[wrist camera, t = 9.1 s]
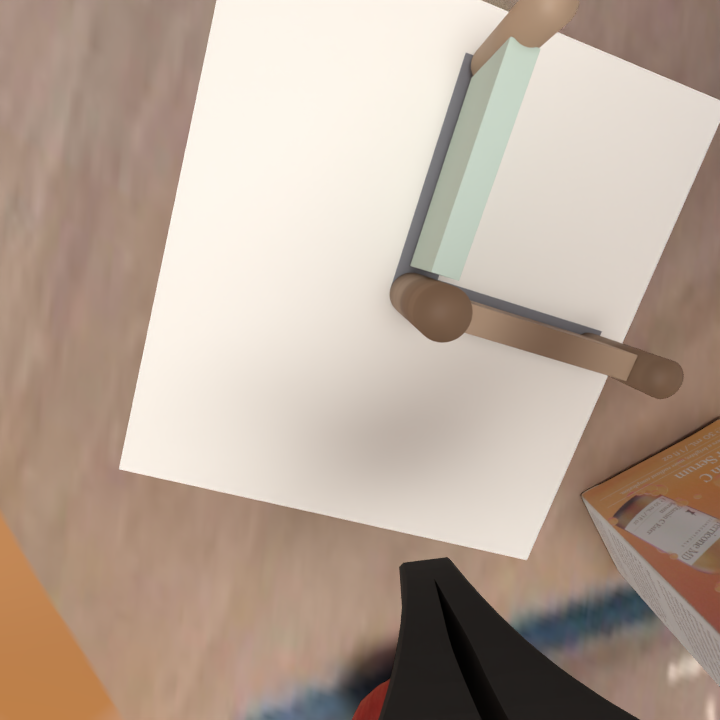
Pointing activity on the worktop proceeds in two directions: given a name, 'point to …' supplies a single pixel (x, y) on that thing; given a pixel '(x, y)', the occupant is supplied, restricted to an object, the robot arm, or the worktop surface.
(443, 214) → the panel
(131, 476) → the worktop surface
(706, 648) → the small box
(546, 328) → the fixed fence
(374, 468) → the card
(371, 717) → the onion
